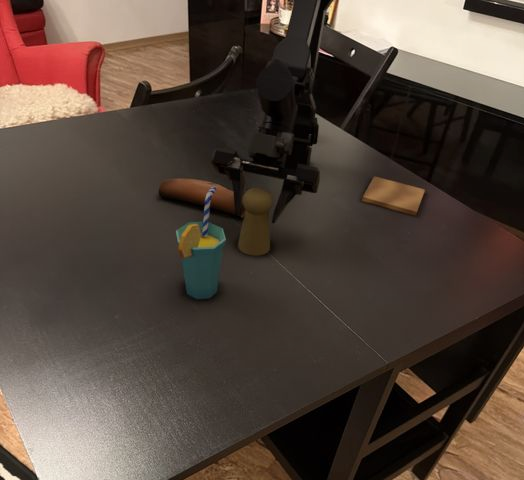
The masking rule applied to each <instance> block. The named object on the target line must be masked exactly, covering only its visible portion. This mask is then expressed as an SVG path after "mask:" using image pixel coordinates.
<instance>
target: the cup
mask: <svg viewBox="0 0 524 480" xmlns="http://www.w3.org/2000/svg"><path fill="white" fill-rule="evenodd" d="M215 191H216V188H215V187H212V188H211V189H210V190H209V191H208V192H207V194H206V199H205V206H204V209H203V221H188V222H187V223H185V224H184V225H183V226H181V227H179V228H178V229H176V230H175V233H176V240H177V245H178V246H177V247H178V248H177V250H178V253H179V256H180V257H181V263H182V264H181V265H182V269H183V277H184V285H185V290H186V295H188V296H190V297H191V298H193V299H195V300H205V299H208V300H209V299H211V298H212V297H213V296H214V295H215V294H217V292H218V286H219V278H220V272H221V265H222V257H223V251H224V247H225V246H226V243H227V238H226V235H225V231H224V228H223V227H220V226H218V225H216V224H214V223H212V222H209V221H210V212H211V211H210V210H211V208H210V201H211V197H212V195H213V194H214V193H215Z"/></svg>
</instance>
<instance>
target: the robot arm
mask: <svg viewBox="0 0 524 480" xmlns="http://www.w3.org/2000/svg"><path fill="white" fill-rule="evenodd" d="M334 1H335V0H294V2H293V6H292V10H291V12H290V17H289V22H288V25H287V29H286V33H285V36H284V38H283V39H282V40H281V41H280V42H279V43H278V44H277V45H276V46H275V47H274V50H273V54H272V57H271V60H268V62H267V64H266V65H265V67H264V68H262V70H261V71H260V73H258V75H257V77H256V82H255V85H256V91H257V95H258V100H259V103H260V108H261V110H262V112H263V113H262V117H261V121H260V125H259V126H258V128H257V132H256V131H255V132H254V131H250V135H249V141H248V148H247V153H248V156H249V158H250V159H251V160H249V159H248V160H247V159H243V158H240V157H239V154H238V151H237V150H233V149H229V148H224V147H216V148H215V149H214V150H213V151H212V154H211V157H210V158H211V159H210V163H211V165H212V167H213V169H214V170H215V172H216V173H218V174H220V175H223V176H227V178H228V180H229V181H230V182H231V186H232V191H233V193H234V206H235V214H236V215H235V216H238V214H239V211H240V208H241V202H242V197H243V195H244V191H245V185H246V180H245V177H244V175H245V173H248V174H249V173H250V174H255V175H259V176H265V177H269V178H274V179H279V180H283V182H282V187H281V189H280V190H281V191H280V193H279V196H278V200H277V202H276V205H275V208H274V210H273V214H272V219H271V223H272V224H275V223H276V222H277V220H278V219H279V218H280V216H281V215H282V213H283V211H284V210H285V208H286V207H287V206H288V205H289V204H290V202H291V201H292V200H293V199H294V198H295V197H296V196H302V194H303V192H305V193H311V194H317V193H318V189H319V187H320V186H319V185H320V180H321V171H320V169H319V168H318V166H313V165H310V162H311V156H312V150H313V148H312V147H313V145H317V144H318V139H319V132H320V131H319V130H320V129H319V128H320V125H319V123H318V117H317V116H316V113H317V106H316V101H315V99H314V96H313V89H314V84H315V83H314V82H315V77H316V71H317V65H318V60H319V54H320V48H321V43H322V36H323V31H324V25H325V19H326V13H327V10H328V9H329V8H330V6H331V5H332V4H333V2H334Z"/></svg>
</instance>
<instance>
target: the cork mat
mask: <svg viewBox="0 0 524 480" xmlns="http://www.w3.org/2000/svg"><path fill="white" fill-rule="evenodd" d="M425 192H426V189H424V188H420V187H417V186H413V185H409V184H405V183H402V182H398V181H394V180H390V179H386V178H382V177H380V176H379V177H378V176H373V178H372V180H371V182H370V183H369V185H368V187H367V189H366V190H365V191H364V194H363V195H362V199H361V202H364V203H367V204H371V205H375V206H379V207H382V208H386V209H390V210H393V211H397V212H401V213H404V214H408V215H410V216H411V215H412V216H415V217H416V216H417V214H418V211H419V208H420V206H421V203H422V199H423V197H424V194H425Z"/></svg>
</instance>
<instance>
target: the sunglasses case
mask: <svg viewBox="0 0 524 480" xmlns="http://www.w3.org/2000/svg"><path fill="white" fill-rule="evenodd" d="M212 187H215V188H216V191H215V193H214V194H213V195H212V197H211V201H210V209H212V210H217V211H220V212H225V213H228V214H232V215H235V216H239V218H241V219H244V214H245V210H246V209H245V207H244V205H243V197H244V194H243V197H242V202H241V208H240V211H239V214H238V215H236V214H235V206H234V193H233V190H231V189H228V188H226V187H224V186H222V185H220V184H218V183H215V182H212V181H207V180H202V179H201V180H200V179H194V178H170V179H164V180H162V181H161V183H160V184H159V187H158V196H159V197H160V198H166V199H170V200H176V201H180V202H189V203H191V204H194V205H197V206H201V207H205V199H206V194H207V192H208V191H209V190H210V189H211V188H212Z"/></svg>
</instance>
